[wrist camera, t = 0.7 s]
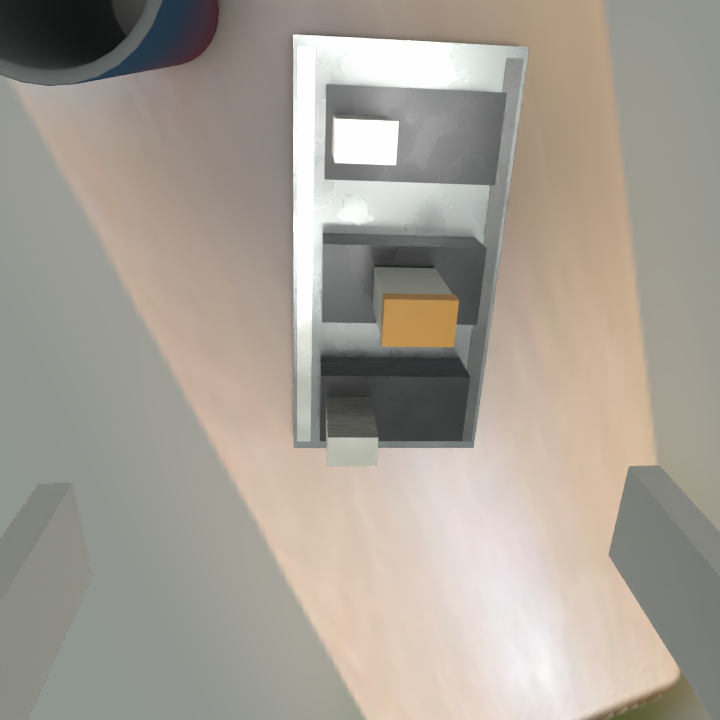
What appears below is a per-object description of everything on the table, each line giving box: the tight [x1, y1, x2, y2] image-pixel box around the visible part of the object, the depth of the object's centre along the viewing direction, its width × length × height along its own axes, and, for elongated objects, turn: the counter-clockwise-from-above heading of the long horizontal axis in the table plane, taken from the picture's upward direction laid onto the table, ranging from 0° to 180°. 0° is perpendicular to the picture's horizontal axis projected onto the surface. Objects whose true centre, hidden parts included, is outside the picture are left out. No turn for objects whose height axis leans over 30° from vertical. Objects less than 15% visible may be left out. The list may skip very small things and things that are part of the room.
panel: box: [293, 34, 529, 466], centre depth 30 cm, size 22×11×8 cm, turn 178°
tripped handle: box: [372, 267, 459, 347], centre depth 28 cm, size 2×3×5 cm
